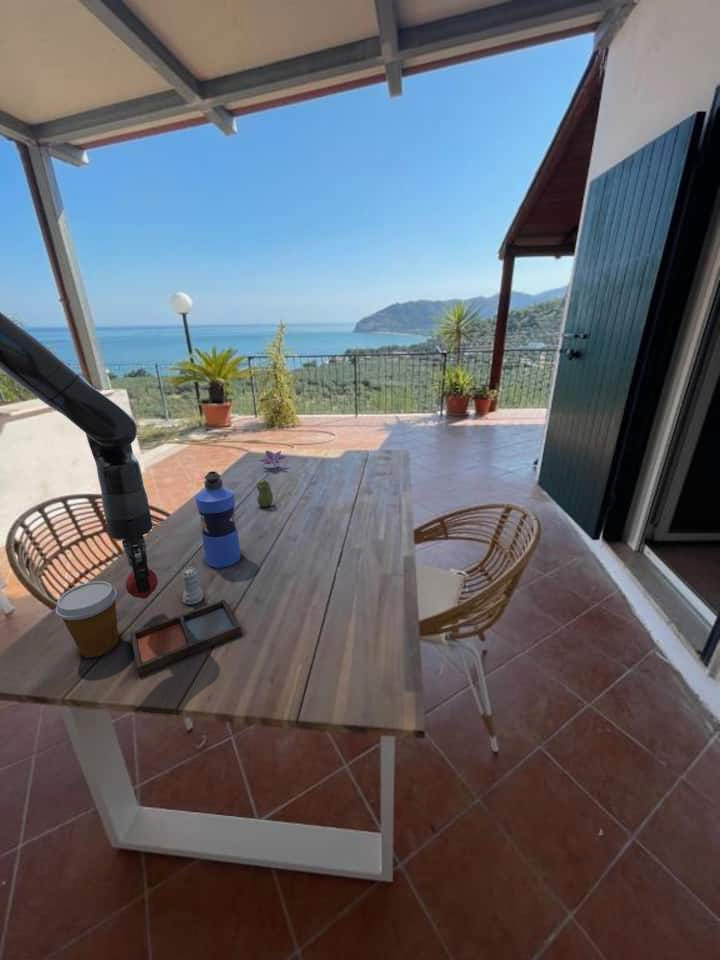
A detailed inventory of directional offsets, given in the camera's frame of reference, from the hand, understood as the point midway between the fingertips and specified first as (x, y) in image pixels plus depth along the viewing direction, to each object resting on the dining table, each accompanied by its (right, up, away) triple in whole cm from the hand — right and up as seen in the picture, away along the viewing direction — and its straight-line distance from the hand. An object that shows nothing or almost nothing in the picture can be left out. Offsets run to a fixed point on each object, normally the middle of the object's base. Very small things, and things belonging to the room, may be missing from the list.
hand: (142, 583), depth 81 cm
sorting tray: (+11, -10, -3) cm, 15 cm away
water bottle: (+8, 0, +26) cm, 27 cm away
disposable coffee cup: (-6, -11, -5) cm, 13 cm away
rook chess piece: (+7, -6, +9) cm, 13 cm away
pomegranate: (0, -4, +1) cm, 4 cm away
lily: (+6, +27, +98) cm, 102 cm away
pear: (+12, +12, +59) cm, 61 cm away
